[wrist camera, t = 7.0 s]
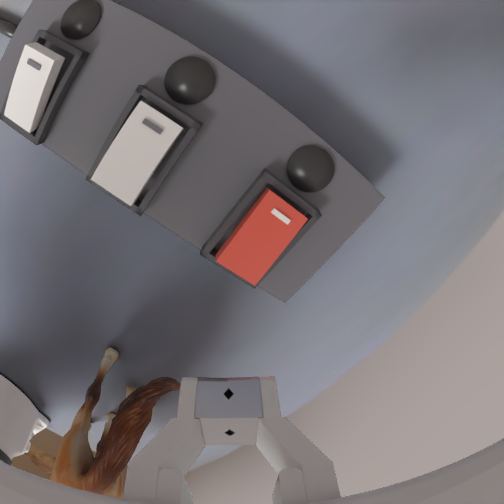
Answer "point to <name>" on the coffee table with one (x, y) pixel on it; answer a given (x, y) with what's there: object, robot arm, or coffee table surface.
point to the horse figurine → (107, 436)
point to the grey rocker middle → (136, 153)
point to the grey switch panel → (188, 133)
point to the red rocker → (260, 237)
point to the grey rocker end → (32, 85)
